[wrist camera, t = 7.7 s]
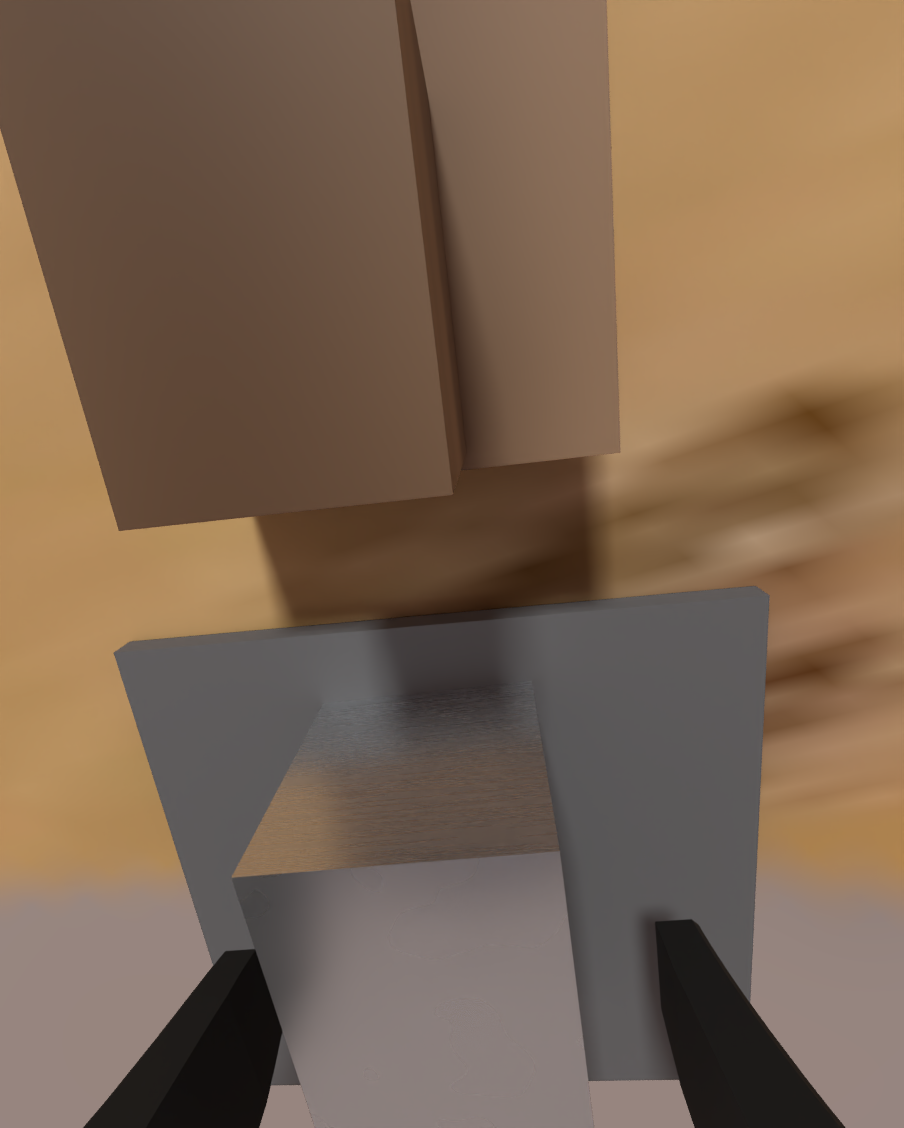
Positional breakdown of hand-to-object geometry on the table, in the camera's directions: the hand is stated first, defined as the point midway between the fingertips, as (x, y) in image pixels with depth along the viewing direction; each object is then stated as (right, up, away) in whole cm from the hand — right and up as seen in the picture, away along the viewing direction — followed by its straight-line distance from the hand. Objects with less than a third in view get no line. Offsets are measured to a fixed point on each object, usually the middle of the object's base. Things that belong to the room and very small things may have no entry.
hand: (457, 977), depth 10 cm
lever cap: (0, +1, +2) cm, 2 cm away
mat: (0, +1, +2) cm, 2 cm away
